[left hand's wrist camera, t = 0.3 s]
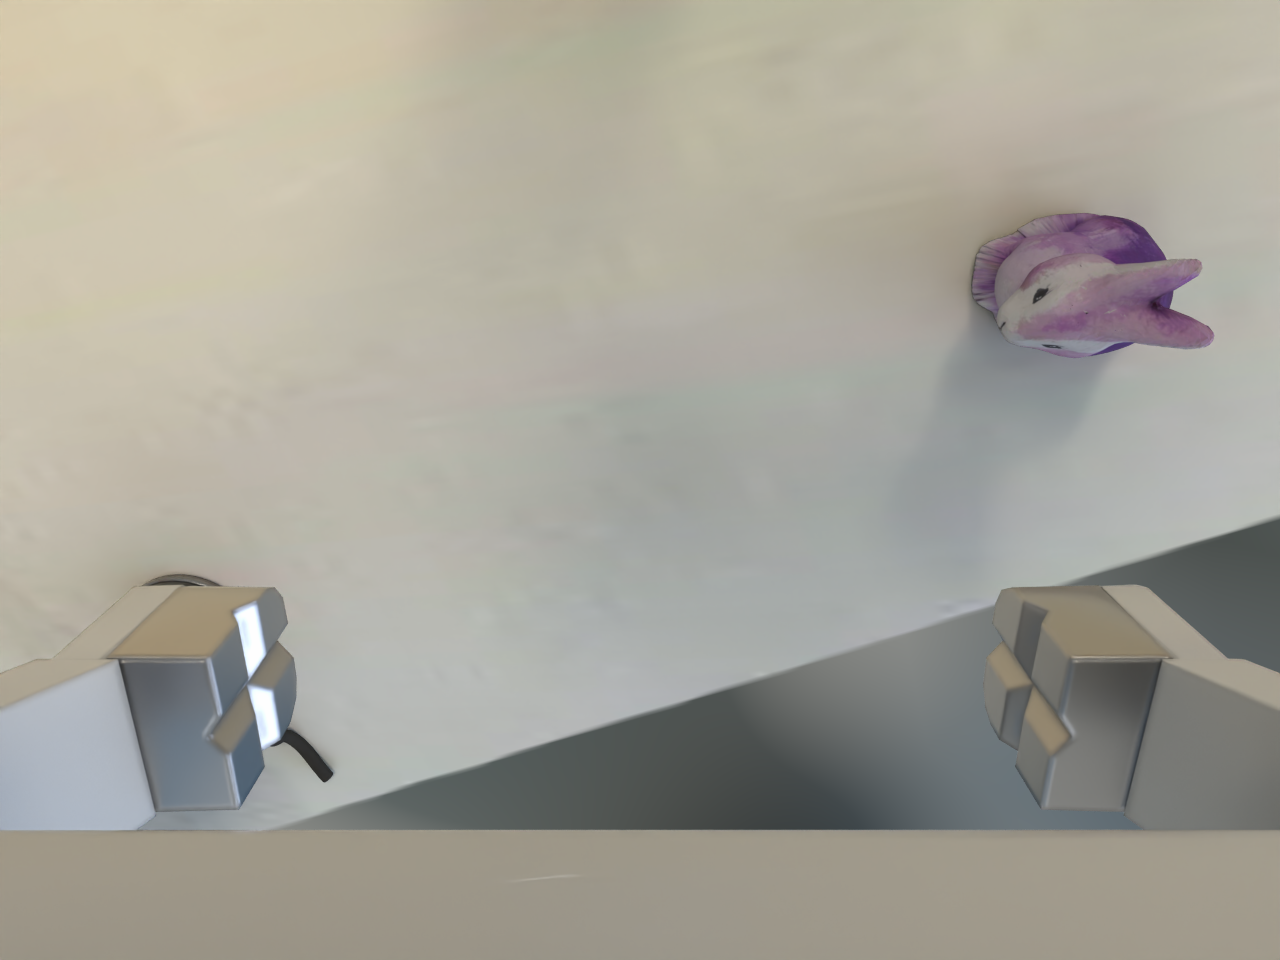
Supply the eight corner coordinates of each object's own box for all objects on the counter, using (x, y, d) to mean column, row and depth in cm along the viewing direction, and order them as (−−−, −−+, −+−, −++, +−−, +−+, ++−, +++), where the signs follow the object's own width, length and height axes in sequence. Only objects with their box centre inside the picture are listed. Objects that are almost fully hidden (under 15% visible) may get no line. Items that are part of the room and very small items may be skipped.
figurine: (928, 284, 55) (1027, 333, 41) (1068, 164, 53) (1223, 173, 39) (1016, 391, 58) (1137, 473, 44) (1154, 282, 55) (1329, 330, 41)
